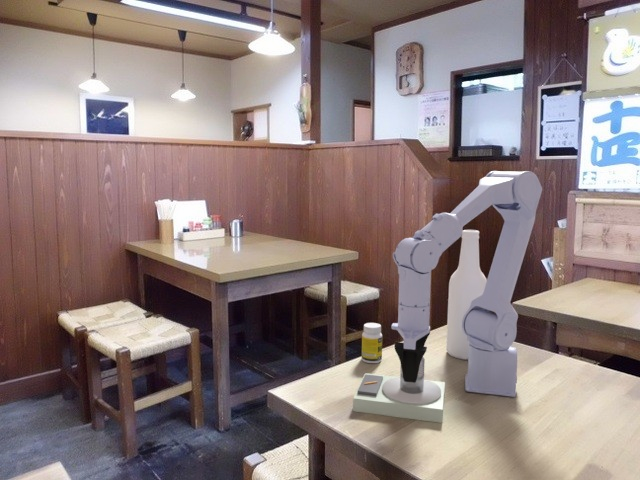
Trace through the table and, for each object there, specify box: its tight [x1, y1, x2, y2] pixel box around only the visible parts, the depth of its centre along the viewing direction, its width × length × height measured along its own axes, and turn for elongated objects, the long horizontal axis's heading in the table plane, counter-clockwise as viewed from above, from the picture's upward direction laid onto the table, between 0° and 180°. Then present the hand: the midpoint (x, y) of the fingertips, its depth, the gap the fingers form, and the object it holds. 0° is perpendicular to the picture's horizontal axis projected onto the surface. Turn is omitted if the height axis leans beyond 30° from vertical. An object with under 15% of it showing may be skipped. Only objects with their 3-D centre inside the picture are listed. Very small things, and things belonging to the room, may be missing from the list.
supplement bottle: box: [361, 322, 383, 364], centre depth 119 cm, size 5×5×8 cm
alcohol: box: [445, 229, 487, 361], centre depth 121 cm, size 9×9×30 cm
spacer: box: [399, 356, 425, 394], centre depth 96 cm, size 4×4×6 cm
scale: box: [352, 373, 446, 424], centre depth 98 cm, size 16×12×3 cm
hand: (412, 373), depth 96 cm, fingers open, 7 cm apart
